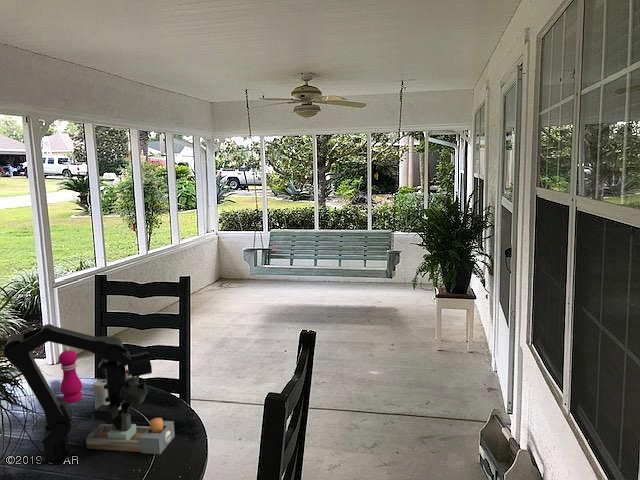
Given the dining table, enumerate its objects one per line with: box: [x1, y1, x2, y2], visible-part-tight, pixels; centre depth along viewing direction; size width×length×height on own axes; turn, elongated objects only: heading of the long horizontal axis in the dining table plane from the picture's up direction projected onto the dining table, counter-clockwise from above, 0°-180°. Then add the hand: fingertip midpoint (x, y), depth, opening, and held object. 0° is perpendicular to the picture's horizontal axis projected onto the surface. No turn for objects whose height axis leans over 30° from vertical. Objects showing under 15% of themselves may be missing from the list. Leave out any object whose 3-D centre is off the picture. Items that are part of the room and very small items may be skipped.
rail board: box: [85, 423, 150, 453], centre depth 162 cm, size 9×18×4 cm, turn 81°
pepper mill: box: [58, 346, 83, 404], centre depth 190 cm, size 7×7×20 cm
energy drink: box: [92, 378, 110, 410], centre depth 178 cm, size 5×5×12 cm
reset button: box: [149, 417, 164, 434], centre depth 159 cm, size 4×4×4 cm
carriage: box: [108, 412, 137, 440], centre depth 161 cm, size 6×6×7 cm
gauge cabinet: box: [140, 420, 176, 455], centre depth 160 cm, size 10×6×5 cm, turn 171°
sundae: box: [125, 365, 140, 406], centre depth 187 cm, size 7×7×15 cm
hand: (121, 427), depth 161 cm, fingers closed on carriage, 2 cm apart
